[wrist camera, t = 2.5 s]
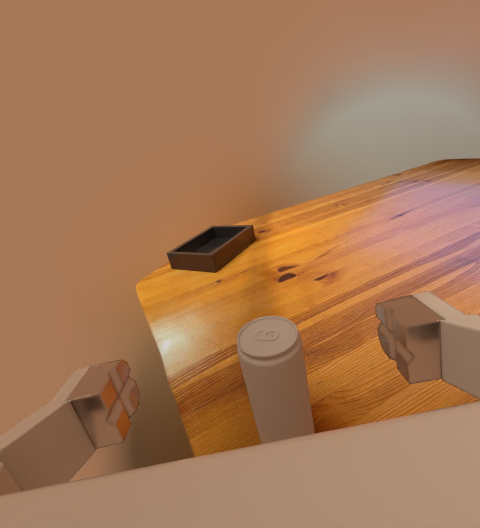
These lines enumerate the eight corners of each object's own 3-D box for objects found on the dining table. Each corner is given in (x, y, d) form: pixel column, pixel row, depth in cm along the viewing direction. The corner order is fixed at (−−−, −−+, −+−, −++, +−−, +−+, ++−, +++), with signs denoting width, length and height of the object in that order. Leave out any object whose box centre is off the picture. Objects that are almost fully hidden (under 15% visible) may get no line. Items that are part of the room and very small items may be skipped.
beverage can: (313, 475, 24) (294, 360, 19) (255, 462, 25) (224, 354, 20) (318, 421, 28) (304, 315, 23) (268, 413, 29) (245, 313, 24)
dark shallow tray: (215, 272, 62) (211, 255, 61) (171, 268, 69) (166, 253, 68) (255, 239, 75) (252, 225, 74) (215, 239, 82) (211, 225, 81)
